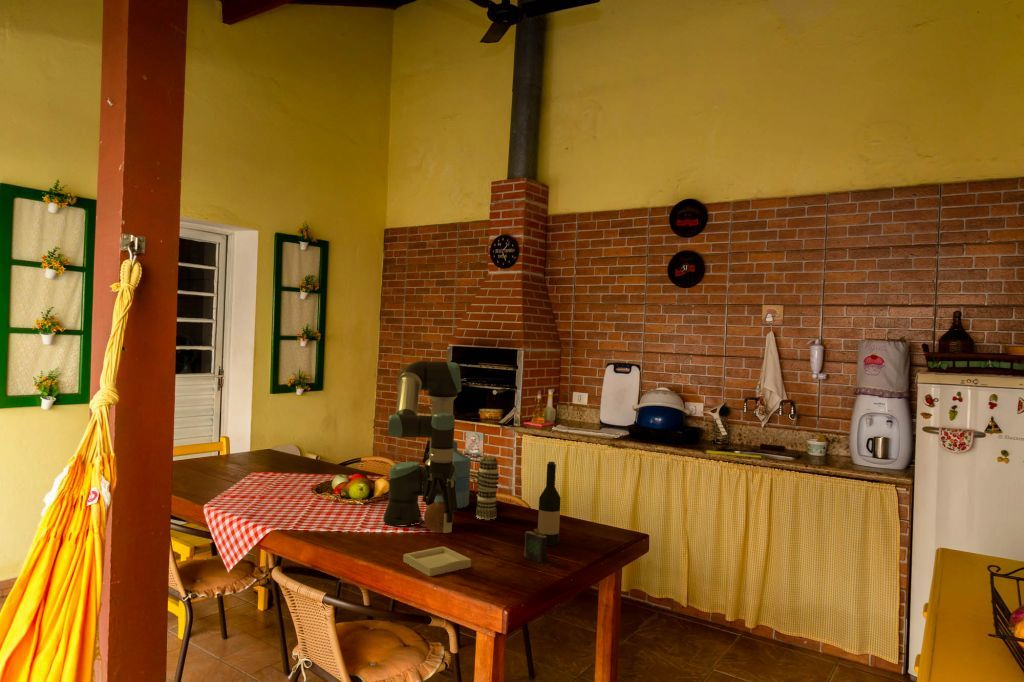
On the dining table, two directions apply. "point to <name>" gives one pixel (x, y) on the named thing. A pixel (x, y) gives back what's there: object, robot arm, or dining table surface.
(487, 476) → the decorative candle
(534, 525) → the dining table surface
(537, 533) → the flask
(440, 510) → the onion
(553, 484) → the wine bottle
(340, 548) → the dining table surface
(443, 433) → the robot arm
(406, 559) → the dish
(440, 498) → the water jug
